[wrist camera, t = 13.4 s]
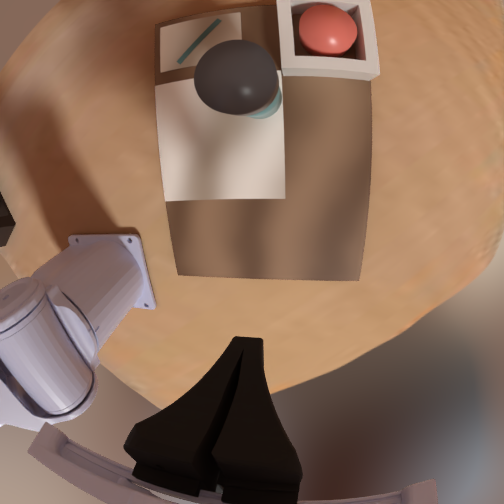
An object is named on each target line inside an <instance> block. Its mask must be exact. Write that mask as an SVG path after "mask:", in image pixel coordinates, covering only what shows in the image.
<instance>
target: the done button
mask: <svg viewBox="0 0 504 504" xmlns="http://www.w3.org/2000/svg"><path fill="white" fill-rule="evenodd" d="M356 37H357V27H356V24H355V22H354V20H353V19H352V18H351V16H350V15H349V14H347V13H346V12H345V11H343V10H342V9H340V8H337V7H335V6H331V5H316V6H313V7H310V8H309V9H307V10H306V11H305V12H304V13H303V14H302V16H301V18H300V22H299V40H300V43H301V45H302V46H303V48H304V49H305V50H306V51H307V52H308V53H310V54H311V55H313V56H319V57H335V58H339V57H341V56H343V55H344V54H345V53H346V52H347V51H348V49H349V48H350V47H351V45H352V44H353V43H354V41H355V39H356Z"/></svg>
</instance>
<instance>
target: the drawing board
mask: <svg viewBox="0 0 504 504" xmlns="http://www.w3.org/2000/svg"><path fill="white" fill-rule="evenodd" d="M291 15H292V26H293V38H294V51H295V56H313V55H311V54H310V53H308V52H307V51H306V50H305V49H304V48H303V46H302V45H301V43H300V40H299V22H300V18H301V16H302V14H291ZM228 40H247V41H250V42H254V43H256V44H258V45H259V46H261V47H263V48H264V49H265V50H266V51H267V52H268V53H269V54H270V56H271V57H272V59H273V61H274V63H275V67H276V70H277V73H278V77H279V87H280V90H281V93H282V103H281V106H280V108H279V109H278V111H277V112H276V113H275V114H273V115H272V116H270V117H268V118H264V119H254V118H251V117H247V116H235V115H230V114H225V113H221V112H218V111H215V110H213V109H211V108H210V107H208V106H207V105H206V104H205V103H204V102H203V101H202V100H201V99H200V98H199V96H198V94H197V92H196V89H195V86H194V73H195V69H196V66H197V64H198V62H199V60H200V58H201V57H202V56H203V55H204V54H205V53H206V52H207V51H208V50H209V49H210V48H212V47H213V46H215V45H217V44H219V43H221V42H224V41H228ZM339 58H346V59H356V50H355V41H354V43H353V44H352V45H351V47H350V48H349V49H348V51H347V52H346V53H345V54H344V55H343V56H341V57H339ZM155 85H156V86H155V100H156V117H157V131H158V143H159V153H160V163H161V172H162V181H163V189H164V197H165V201H166V207H167V214H168V221H169V227H170V233H171V239H172V245H173V251H174V257H175V262H176V268H177V273H178V275H184V276H203V277H225V278H250V279H280V280H324V281H359V279H360V273H361V266H362V260H363V252H364V245H365V237H366V228H367V219H368V208H369V196H370V181H371V160H372V100H371V80H370V81H366V80H358V79H348V78H336V77H318V76H283V73H282V68H281V52H280V37H279V24H278V12H277V5H264V6H250V7H240V8H232V9H224V10H218V11H212V12H206V13H201V14H196V15H191V16H187V17H182V18H178V19H174V20H170V21H167V22H163V23H159V24H156V25H155Z"/></svg>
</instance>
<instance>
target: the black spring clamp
mask: <svg viewBox="0 0 504 504" xmlns="http://www.w3.org/2000/svg"><path fill="white" fill-rule="evenodd" d="M2 198H3V197H2V194H1V192H0V247H2V246H6V244H7V241H8V239H9V237H10V235H11V233H12V231H13V228H14V226H15V224H16V223H15V221H14V219H13V217H12V215H11V213H10V211H9V209H8V207H7V205H6V203H5V201H4V200H3V199H2Z"/></svg>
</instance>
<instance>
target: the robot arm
mask: <svg viewBox="0 0 504 504" xmlns="http://www.w3.org/2000/svg"><path fill="white" fill-rule="evenodd" d="M129 238H130V239H131V240H132V241H130V239H129ZM78 240H79V241H78ZM68 241H69V245H70V246H69V247H67V248H66V249H64V250H63V251H62V252H60V253H59V254H57V255H56V256H55V257H53V258H52V259H50V260H49V261H48V262H46V263H45V264H44V265H42V266H41V267H40V268H38V269H37V270H36V271H35V272H34V273H33V275H32V276H31V277H25V278H21V279H19V280H16V281H14V282H12V283H10V284H9V285H7V286H5V287H4V288H2V289H1V290H0V427H1V426H2V425H4V424H8V425H12V426H16V427H20V428H23V429H27V430H32V431H38V432H39V433H38V435H37V436H36V438H35V439H34V441H33V442H32V444H31V446H30V447H29V449H28V453H29V454H30V455H32V456H33V457H34V458H36V459H37V460H38V461H40V462H41V463H42V464H44V465H45V466H46V467H48V468H49V469H51V470H52V471H53V472H55V473H56V474H58V475H59V476H61V477H62V478H64V479H65V480H67V481H68V482H70V483H72V484H73V485H75V486H76V487H78V488H80V489H81V490H83V491H85V492H86V493H88V494H90V495H92V496H94V497H96V498H97V499H99V500H101V501H103V502H105V503H107V504H178V503H174V502H171V501H167V500H164V499H161V498H159V497H157V496H155V495H154V494H152V493H151V492H150V491H149V490H146V489H144V488H142V487H140V486H143V487H145V488H148V489H151V490H154V491H157V492H160V493H163V494H166V495H169V496H173V497H176V498H179V499H183V500H187V501H191V502H195V503H199V504H438V499H437V490H436V483H435V479H431V480H428V481H424V482H420V483H416V484H413V485H410V486H407V487H405V488H404V489H402V491H398V492H392V493H387V494H382V495H376V496H369V497H361V498H353V499H343V500H326V501H297V499H298V492H299V485H300V482H301V479H302V476H303V473H302V468H301V464H300V462H299V459H298V456H297V453H296V450H295V448H294V447H293V445H292V443H291V442H290V440H289V438H288V436H287V434H286V432H285V430H284V428H283V427H282V424H281V422H280V420H279V418H278V415H277V413H276V410H275V408H274V405H273V402H272V399H271V396H270V393H269V390H268V386H267V382H266V378H265V373H264V353H263V339H261V338H252V337H239V336H235V337H234V338H233V339H232V341H231V342H230V344H229V345H228V347H227V348H226V350H225V351H224V352H223V354H222V355H221V356H220V358H219V359H218V360H217V362H216V363H215V364H214V365H213V366H212V368H211V369H210V370H209V371H208V372H207V373H206V374H205V375H204V376H203V378H202V379H201V380H200V381H199V382H198V383H197V384H196V385H194V386H193V387H192V388H191V389H190V390H189V391H188V392H187V393H185V394H184V395H183V396H182V397H180V398H179V399H178V400H176V401H175V402H174V403H172V404H171V405H169V406H168V407H166V408H165V409H163V410H161V411H160V412H158V413H156V414H155V415H153V416H151V417H149V418H147V419H145V420H143V421H141V422H139V423H137V424H135V426H134V427H133V429H132V430H131V432H130V434H129V435H128V437H127V440H126V442H125V444H124V450H125V451H126V452H127V453H128V454H129V455H130V456H131V457H132V458H133V459H134V460H135V461H136V462H137V463H136V465H135V467H134V469H132V468H129V467H127V466H124V465H122V464H119V463H117V462H115V461H112V460H110V459H108V458H106V457H104V456H101V455H99V454H97V453H95V452H93V451H91V450H89V449H87V448H85V447H83V446H81V445H79V444H78V443H76V442H74V441H72V440H71V439H69V438H68V437H67V436H66V435H65V434H64V433H63V432H61V431H60V430H59V429H58V428H56V427H54V426H53V425H52V424H55V423H58V422H63V421H68V420H71V419H74V418H76V417H78V416H79V415H81V414H82V413H83V412H85V411H86V410H87V408H88V407H89V406H90V405H91V403H92V402H93V400H94V398H95V396H96V393H97V390H98V379H97V376H96V374H95V372H94V370H95V369H96V367H97V366H98V364H99V363H100V360H99V358H98V356H97V353H98V351H99V350H100V349H101V347H102V346H103V345H104V343H105V342H106V341H107V339H108V338H109V337H110V335H111V334H112V333H113V331H114V330H115V329H116V327H117V326H118V325H119V323H120V322H121V321H122V320H123V318H124V317H125V316H126V314H127V313H128V312H129V311H130V309H131V308H132V307H135V308H143V309H151V310H153V309H155V307H156V302H155V298H154V294H153V291H152V287H151V283H150V279H149V275H148V271H147V266H146V262H145V258H144V253H143V249H142V244H141V239H140V237H139V236H138V235H137V234H91V235H70V236H69V237H68ZM147 304H148V305H147ZM133 483H135V484H133ZM136 484H137V485H136ZM138 485H140V486H138ZM221 493H222V494H221Z"/></svg>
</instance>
